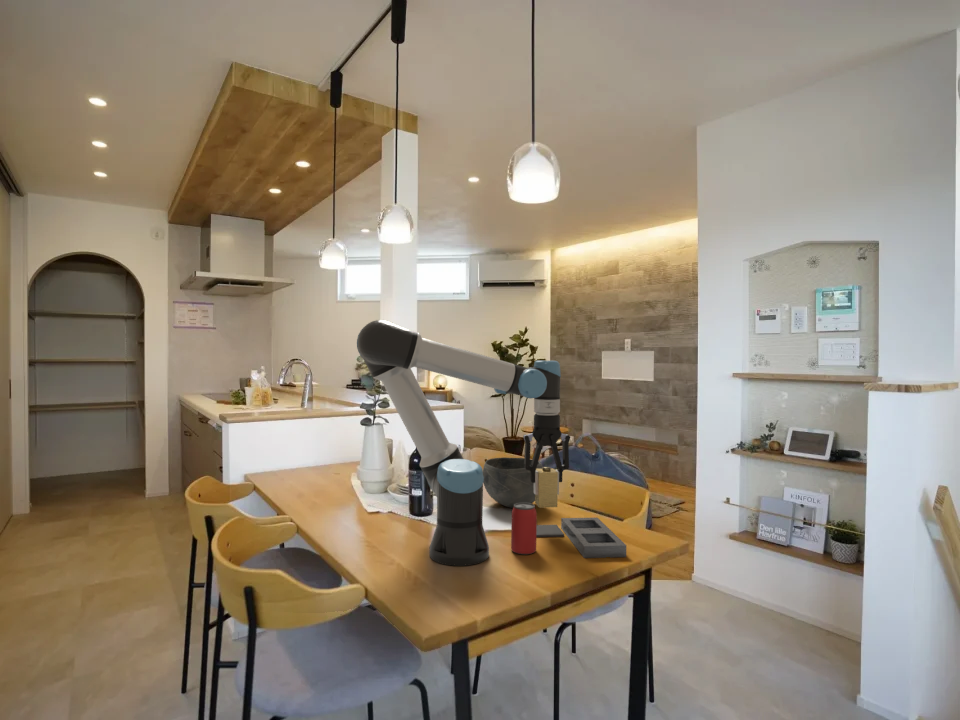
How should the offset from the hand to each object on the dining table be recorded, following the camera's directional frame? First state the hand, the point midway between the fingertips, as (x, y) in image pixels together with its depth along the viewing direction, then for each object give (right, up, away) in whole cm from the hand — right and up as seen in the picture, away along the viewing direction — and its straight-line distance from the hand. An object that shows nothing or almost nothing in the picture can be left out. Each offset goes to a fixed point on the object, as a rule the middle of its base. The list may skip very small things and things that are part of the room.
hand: (546, 493), depth 161 cm
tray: (+12, -11, -8) cm, 18 cm away
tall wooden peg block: (0, -3, 0) cm, 3 cm away
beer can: (-8, -12, -16) cm, 21 cm away
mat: (0, -11, 0) cm, 11 cm away
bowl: (-8, -11, +28) cm, 31 cm away
